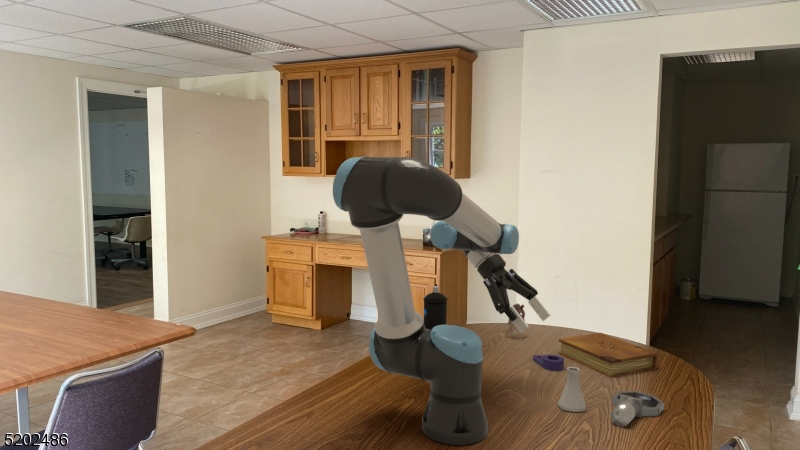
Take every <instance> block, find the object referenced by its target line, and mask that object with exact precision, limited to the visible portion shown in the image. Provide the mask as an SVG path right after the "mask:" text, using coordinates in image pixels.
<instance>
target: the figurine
mask: <svg viewBox="0 0 800 450" xmlns="http://www.w3.org/2000/svg"><path fill="white" fill-rule="evenodd" d="M512 306H513V307H514V308H515V309H516V311H517V312H518V313H519V315H520V316H521V317H522V318H523V320H524V321H525V322H526V320H525V319H526V318H525V317H526V313H525V310H524V308H525V305H524V304H521V305H520V304H519V302H518V303H514V304H513V305H512ZM527 332H528V331H527V328H526V329H525V330H524V331H523V332H522V333H520V332H519V331H518V329H517V328H516V327H515V325H514V324H513V323H512V322H511V320H510V319H509V318H508V322H507V326H506V331H505V335H506V338H509V339H512V340H513V339H514V340H522V339H525V338H527V334H528V333H527Z"/></svg>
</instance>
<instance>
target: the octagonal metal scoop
mask: <svg viewBox="0 0 800 450" xmlns="http://www.w3.org/2000/svg"><path fill="white" fill-rule="evenodd" d="M611 402H612V403H611V404H612V405H613V406H614V408H613V409H612V410H611V411H610V420H611V421H612V422H613V424H614V425H616V426H617V427H621V428H623V427H624V428H625V427H627V426H628V425H629V424H630V422H631V421H632V420H634V419H635V418H640V419H641V418H642V417H658V416H660V415H661V414H662V413H661V412H663V411H664V410H665V402H664V401H662V400H661V399H660V398H658V397H657V396H655V395H653V394H650V393H645V392H642V391H638V390H628V391H627V390H625V391H624V390H623V391H622V390H621V391H617V392H616V393H615V394H614V395H613V396H612V401H611Z"/></svg>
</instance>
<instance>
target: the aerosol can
mask: <svg viewBox="0 0 800 450" xmlns="http://www.w3.org/2000/svg"><path fill="white" fill-rule="evenodd" d="M439 291H440V290H439V286H438V285H433V286H432V292H430V293H428V294H426V295H425V297H423V299H422V300H423V320H424V325H425V328H426V329H429V330H432V329H433V328H434V327H435V326H438V325H447V312H448V311H447V308H448V307H447V306H448V305H447V304H448V300H449V299H448V298H447V297H446V296H445V295H444V294H443V293H440V292H439Z"/></svg>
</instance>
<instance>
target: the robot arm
mask: <svg viewBox="0 0 800 450" xmlns="http://www.w3.org/2000/svg"><path fill="white" fill-rule="evenodd" d="M332 197H333V200H334V201H333V202H334V204H335V206H336V207H337V208H339V210H341V211H344V212H346V213H347V212H348V217H349V219H350V220H349V221H350V224H351V226H352V227H354V228H356V229H357V230H359V232H360V238H361V241H362V245H363V250H364V255H365V260H366V264H367V269H368V274H369V278H370V282H371V287H372V292H373V296H374V300H375V301H374V302H375V304H376V310H377V315H378V320H377V321H376V323H375V325H374V327H373V329H372V330H371V333H370V337H369V341H370V342H369V343H368V347H369V348H368V351H369V352H368V353H369V355H370V359H371V361H372V362H373V364H374V365H375V367H377V368H378V369H380V370H382V371H385V372H388V373H389V374H393V375H400V376H406V377H410V378H412V379H419V380H422V381H425V382H429V397H428V400H427V404H426V406H425V409H424V411H423V414H422V418H421V431H422V433H423V434H424V435H425V436H426V437H427V438H429V439H431V440H432V441H434V442H437V443H440V444H446V445H452V446H465V445H471V444H475V443H479V442H481V441H482V440H484V439H485V438H486V437H487V436H488V433H489V430H488V429H489V422H488V419H487V416H486V412H485V408H484V405H483V401H482V378H483V377H482V376H483V375H482V373H483V358H484V354H483V342H482V339H481V337H480V336H479V334H477V333H476V332H475V331H473V330H472V329H469V328H468V327H467V328H466V327H463V326H461V325H453V324H451V325H449V324H446V325H438V326H435V327H434V328H433V329H432V330H429V329H426V328H425V325H424V316H423V315H422V314H421V313H419V312H418V311H416V307H415V303H414V297H413V292H412V286H411V281H410V278H409V271H408V265H407V261H406V255H405V250H404V245H403V239H402V234H401V230H400V223H399V222H400V221H401V220H402V218H403V217H404V215H416V216H424V217H427V218H428V219H430V220H433V221H436V222H435V223H434V224H433V225H432V227H431V228H430V233H429V236H430V241H431V243H432V244H433V246H434V247H436V248H437V249H440V250H446V251H448V250H458V251H459V250H460V251H462V252H463V254H464V255H465V256H466V258H467V259H468V261H469V262H470V264H472V265H473V267H474V268H477V273H478V274H479V275H480V277H481V278H482V279H483V282H482V283H483V284H484V285H485V286H484V287H486V289H487V291H488V294H489V296H490V299H491V301H492V304H493V307H494V308H495V311H496V312H498V313H499V315H502V314H505V315H506V316H507V318H508V320H509V319H510V320H511V322H512V323H513V324H514V325H515V327H516V328H517V329H518V331H519V332H520V333H522V332H523V331H524V330H525V329H526V330H527V328H529V327H530V326H529V325H528V323H527V322H526V320H525V321H524V320H523V318H522V317H521V316H520V315H519V313H518V312H517V311H516V309H515V308H514V307H513V305H511V304H510V300H509V293H508V292H507V291H513V292H515V293H516V294H518V295H519V296H521V297H523V298H525V299H526V300H527V303H528V304H529V306H530V307H531V308H532V309H533V310H534V312H535V313H536V315H537V316H538V317H539V318H540V319H541V321H542V322H545V321H546V319H548V318H549V317H551V316H552V314H551V313H550V312H549V310H548V309H547V308H546V307H545V305H543V303H542V301H540V299H539V298H538V295H539V293H538V290H537V289H536V288H534V287H533V285H531V284H530V283H528V282H527V281H526V280H525V279H524V278H522V277H521V276H520V275H519V274H518V273H517V272H516V271H515V270H514V268H510V269H509V270H507V269H506V268H505V267H506V265H507V263H506V261H505V260H504V258H503V257H502V256H501V255H513V254H515V252H516V251H517V249H518V247H519V241H520V234H519V233H520V232H519V230H518V227H517V226H516V225H513V224H507V223H500V222H499V221H497V219H495V218H494V217H493V216H491V215H490V214H489V213H488V212H487V211H485V210H484V209H483V208H481V207H480V205H478V204H477V203H476V202H474V201H473V200H472V199H470V197H468V196H467V195H466V194H464V192H463V189H462V187H461V185H460V184H459V182H458V181H457V180H455V179H454V178H453V177H451V176H450V175H449V174H447V172H445V171H444V170H441V169H440V168H438V167H436V166H434V165H433V164H430V163H428V162H426V161H424V160H421V159H418V158H415V157H410V156H400V157H397V156H367V155H363V156H359V157H358V156H357V157H356V156H355V157H350V158H348V159H346V160H344V162H342V163H341V165H340V166H339V167H338V169H337V170H336V173H335V176H334V177H333V183H332Z"/></svg>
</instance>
